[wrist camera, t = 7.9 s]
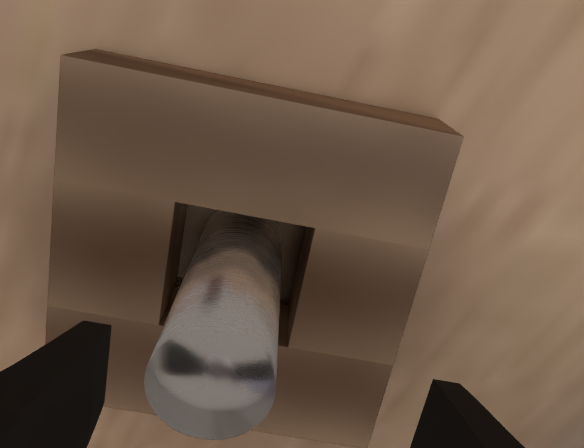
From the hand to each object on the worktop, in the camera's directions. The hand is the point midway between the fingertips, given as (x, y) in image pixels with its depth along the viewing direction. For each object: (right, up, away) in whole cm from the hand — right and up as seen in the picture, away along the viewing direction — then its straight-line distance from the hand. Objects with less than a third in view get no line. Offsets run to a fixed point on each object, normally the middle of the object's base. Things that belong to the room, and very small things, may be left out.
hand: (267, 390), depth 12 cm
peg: (-1, +3, +9) cm, 9 cm away
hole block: (-1, +3, +9) cm, 10 cm away
